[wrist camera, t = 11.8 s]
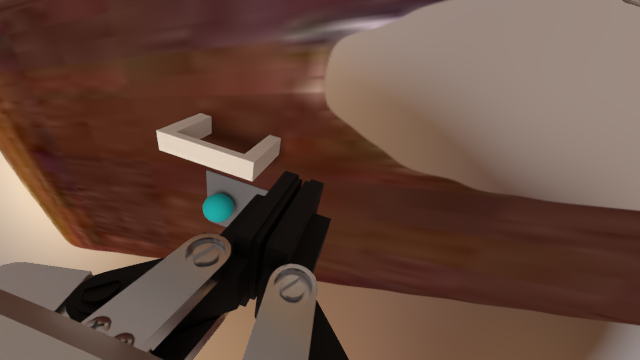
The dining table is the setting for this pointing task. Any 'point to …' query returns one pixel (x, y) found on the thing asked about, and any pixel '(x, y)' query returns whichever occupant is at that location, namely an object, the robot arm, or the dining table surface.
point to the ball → (218, 207)
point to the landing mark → (232, 192)
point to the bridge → (215, 148)
